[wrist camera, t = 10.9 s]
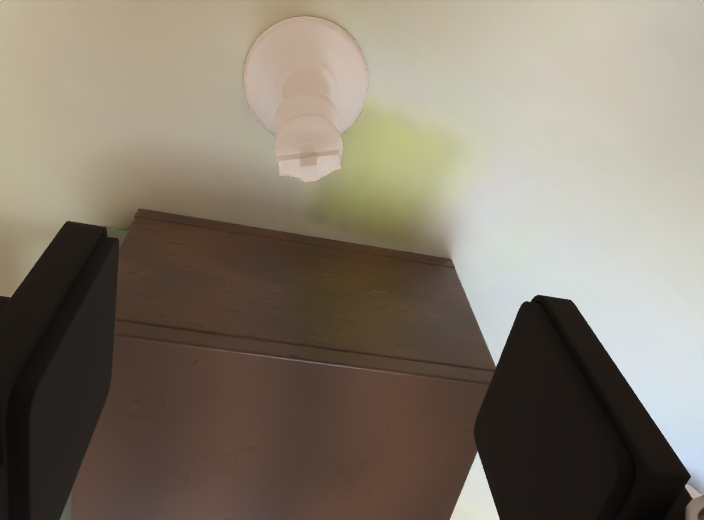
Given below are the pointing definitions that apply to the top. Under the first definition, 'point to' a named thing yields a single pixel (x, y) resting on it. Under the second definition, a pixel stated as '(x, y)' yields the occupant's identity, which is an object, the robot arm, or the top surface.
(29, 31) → the top surface
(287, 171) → the chess piece
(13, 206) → the top surface
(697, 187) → the top surface
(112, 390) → the cabinet
